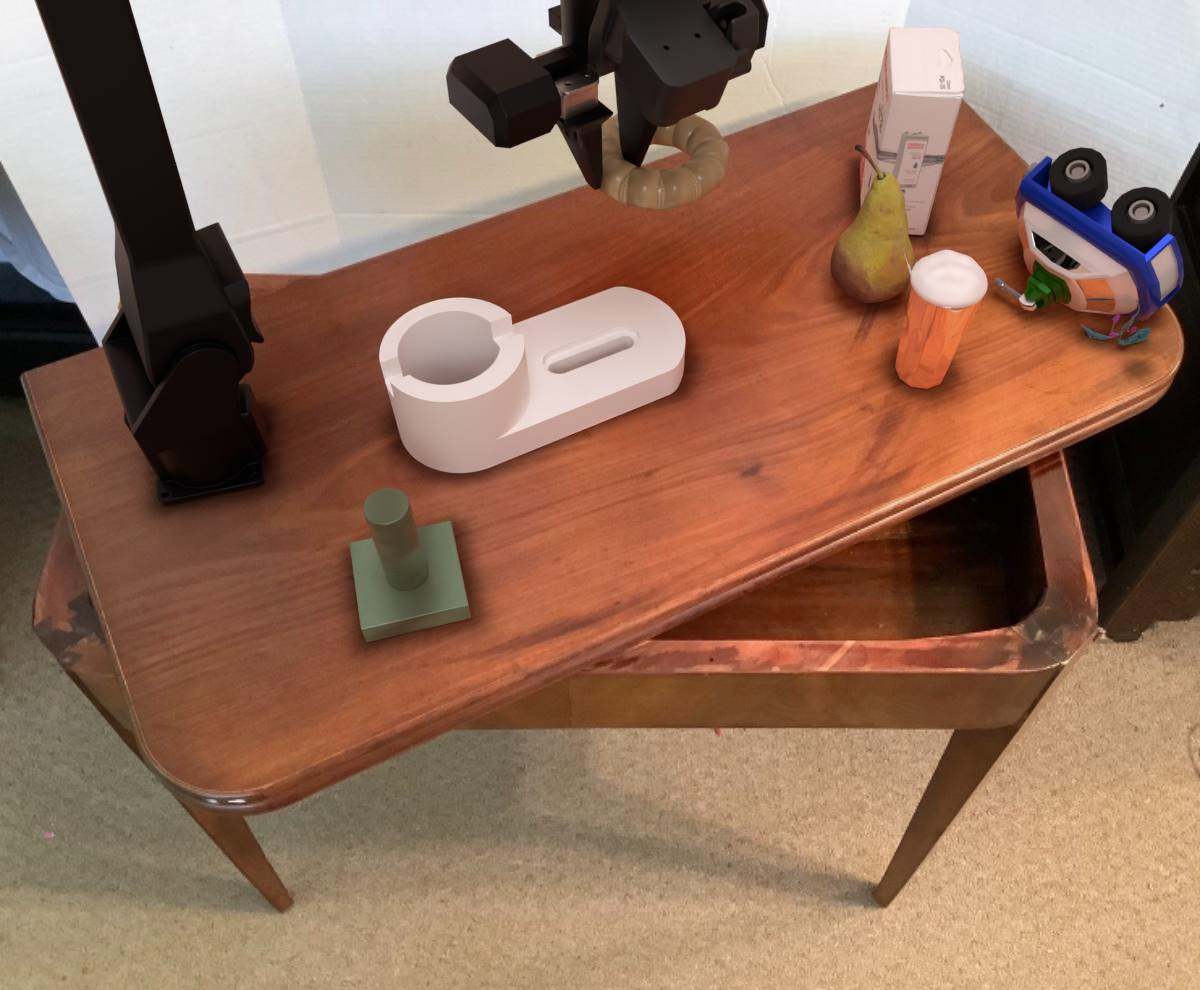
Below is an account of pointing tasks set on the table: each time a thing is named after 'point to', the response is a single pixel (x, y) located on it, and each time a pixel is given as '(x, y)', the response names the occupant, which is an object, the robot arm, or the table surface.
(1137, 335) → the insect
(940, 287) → the beer glass
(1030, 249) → the toy car
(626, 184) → the segmented ring
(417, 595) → the stand
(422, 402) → the bracket
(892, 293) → the fruit
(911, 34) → the ink box
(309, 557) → the table surface
